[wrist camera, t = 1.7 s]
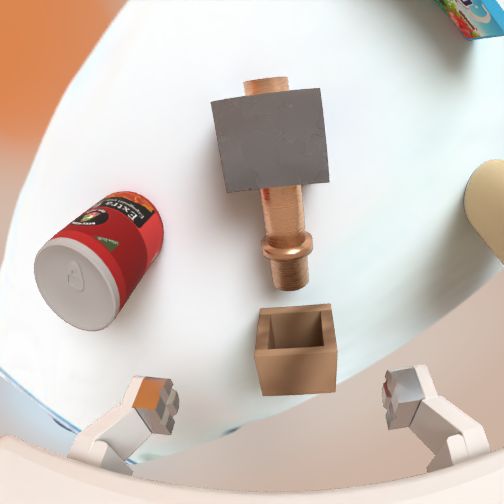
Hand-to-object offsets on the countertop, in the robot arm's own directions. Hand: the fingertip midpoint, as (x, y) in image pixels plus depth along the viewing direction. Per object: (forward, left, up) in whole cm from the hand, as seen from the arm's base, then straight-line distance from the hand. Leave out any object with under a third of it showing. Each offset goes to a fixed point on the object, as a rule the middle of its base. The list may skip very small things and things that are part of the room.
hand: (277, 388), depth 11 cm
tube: (0, -3, -17) cm, 17 cm away
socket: (0, +14, -19) cm, 23 cm away
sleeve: (0, -7, -19) cm, 20 cm away
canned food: (+15, 0, -19) cm, 24 cm away
